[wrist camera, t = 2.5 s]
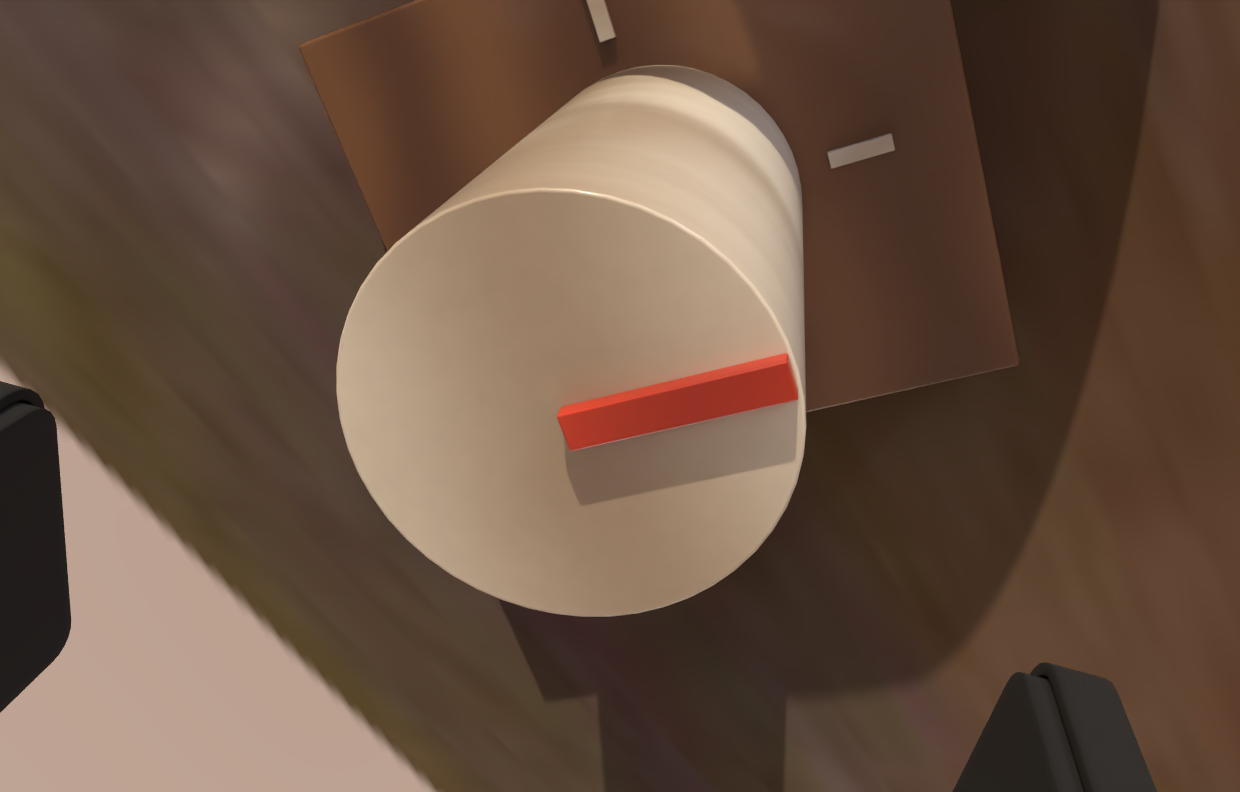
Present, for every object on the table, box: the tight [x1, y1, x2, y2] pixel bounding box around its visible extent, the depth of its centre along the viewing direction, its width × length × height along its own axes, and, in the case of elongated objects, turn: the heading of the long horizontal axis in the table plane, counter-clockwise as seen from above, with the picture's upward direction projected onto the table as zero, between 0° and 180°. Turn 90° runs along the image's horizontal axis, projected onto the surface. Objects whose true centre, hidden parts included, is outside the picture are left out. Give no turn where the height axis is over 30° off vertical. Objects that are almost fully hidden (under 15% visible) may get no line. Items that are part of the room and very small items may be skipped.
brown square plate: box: [299, 0, 1019, 412], centre depth 24 cm, size 14×12×3 cm
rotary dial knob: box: [337, 65, 806, 617], centre depth 18 cm, size 6×6×11 cm
